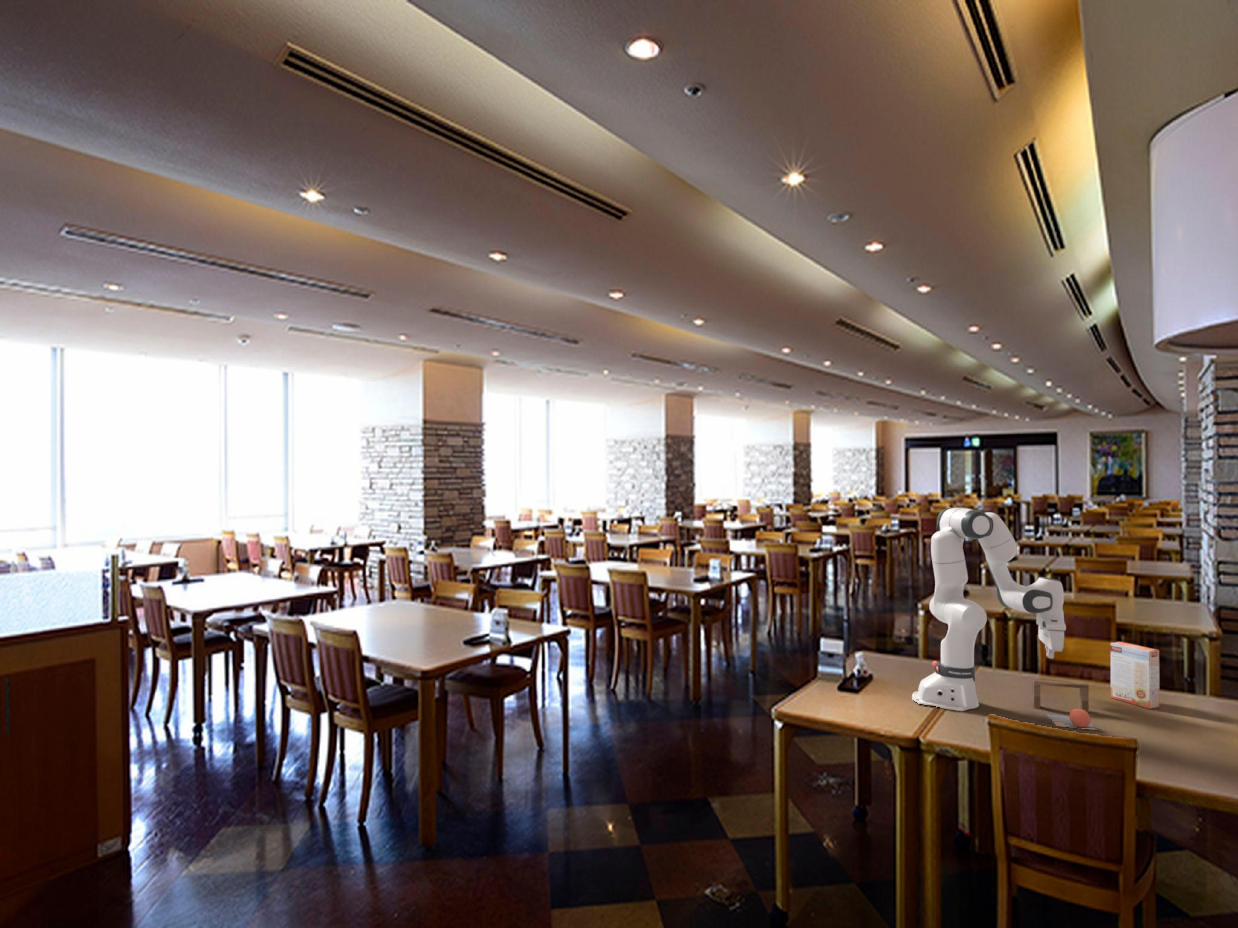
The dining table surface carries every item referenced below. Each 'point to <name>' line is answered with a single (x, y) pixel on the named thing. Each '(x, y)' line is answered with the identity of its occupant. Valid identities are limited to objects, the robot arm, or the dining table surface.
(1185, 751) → the dining table surface
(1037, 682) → the grey rectangular frame
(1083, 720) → the ball
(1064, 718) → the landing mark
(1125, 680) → the cracker box
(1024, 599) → the robot arm
